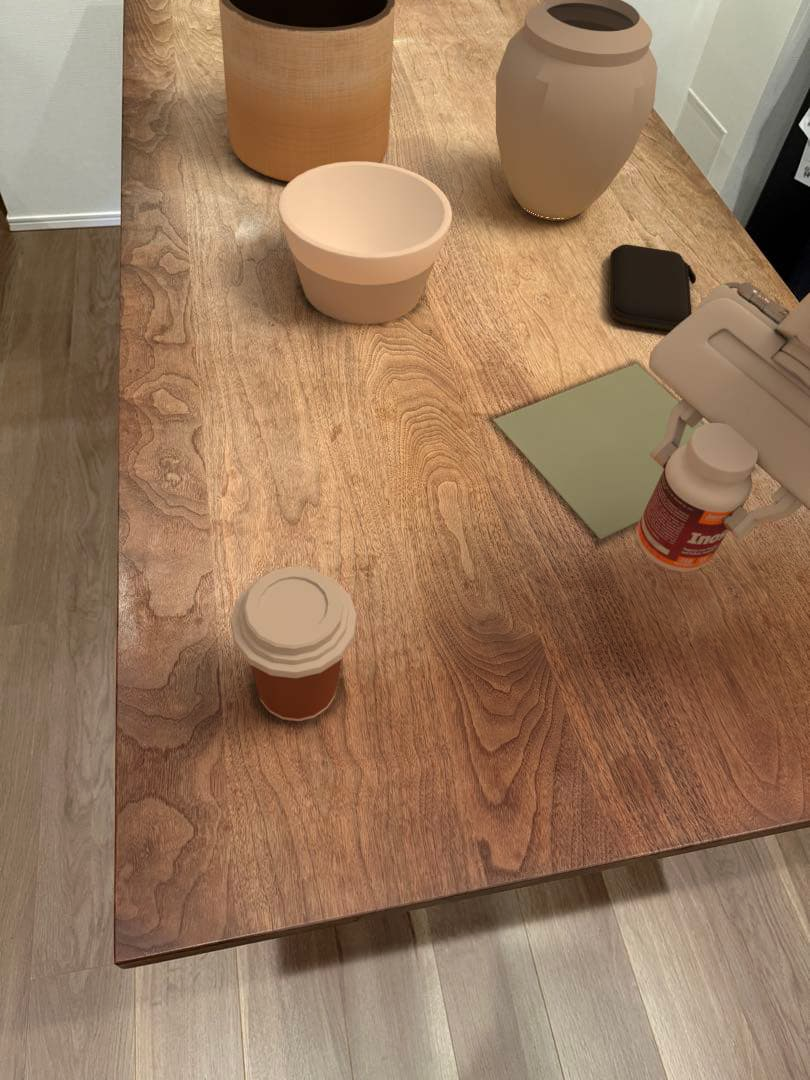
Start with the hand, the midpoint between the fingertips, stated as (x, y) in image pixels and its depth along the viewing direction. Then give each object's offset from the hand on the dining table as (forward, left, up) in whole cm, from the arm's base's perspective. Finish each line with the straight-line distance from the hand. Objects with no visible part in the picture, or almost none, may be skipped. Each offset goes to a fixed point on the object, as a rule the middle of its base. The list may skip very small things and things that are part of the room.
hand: (693, 497), depth 64 cm
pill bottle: (-1, 0, -6) cm, 6 cm away
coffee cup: (+28, -9, -17) cm, 34 cm away
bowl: (-3, -53, -17) cm, 55 cm away
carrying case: (-34, -36, -17) cm, 52 cm away
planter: (-12, -84, -17) cm, 86 cm away
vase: (-35, -58, -17) cm, 69 cm away
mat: (-14, -18, -17) cm, 28 cm away
